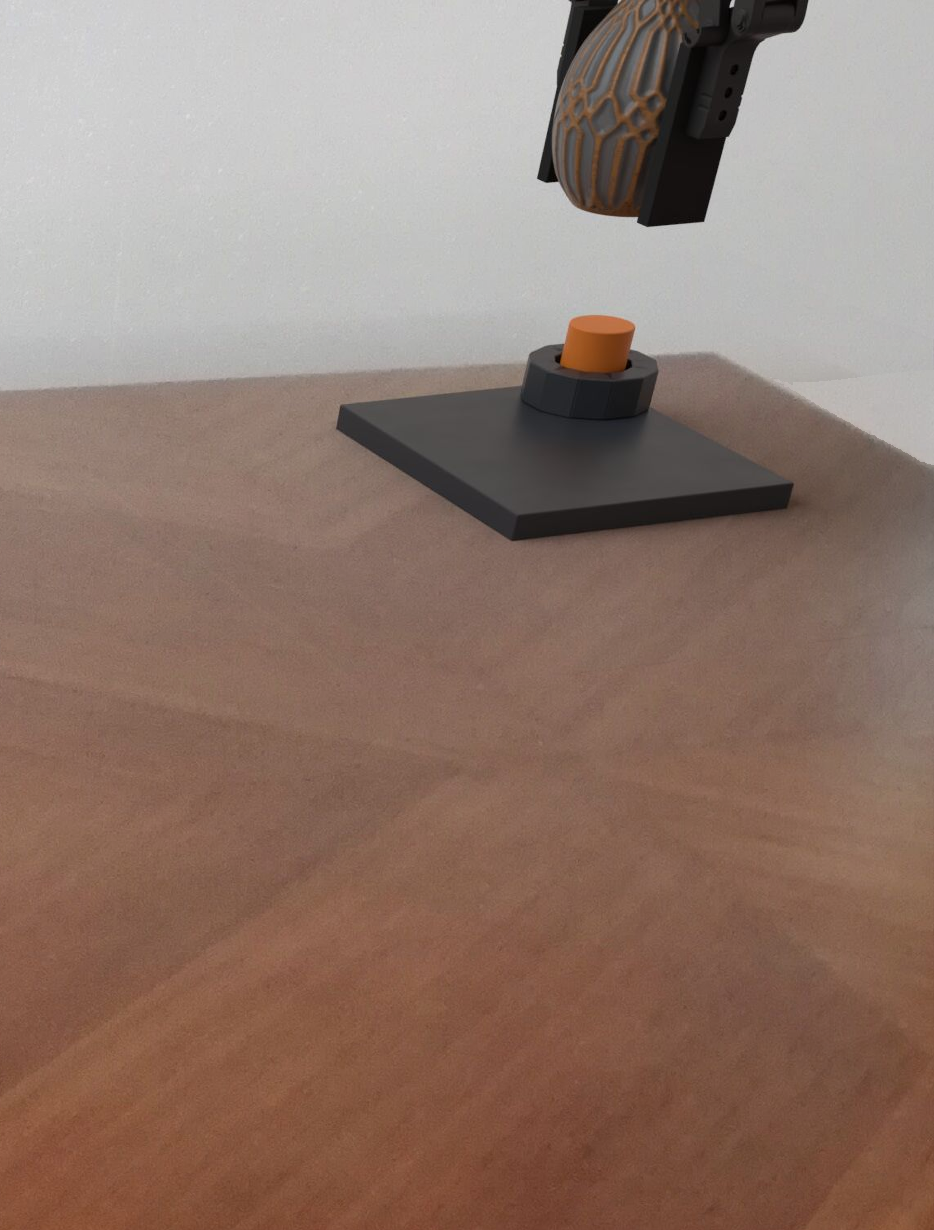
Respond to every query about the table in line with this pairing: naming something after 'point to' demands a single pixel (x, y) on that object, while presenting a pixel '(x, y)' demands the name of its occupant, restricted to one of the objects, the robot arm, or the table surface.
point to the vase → (618, 104)
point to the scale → (563, 453)
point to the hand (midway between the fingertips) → (618, 199)
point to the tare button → (597, 344)
